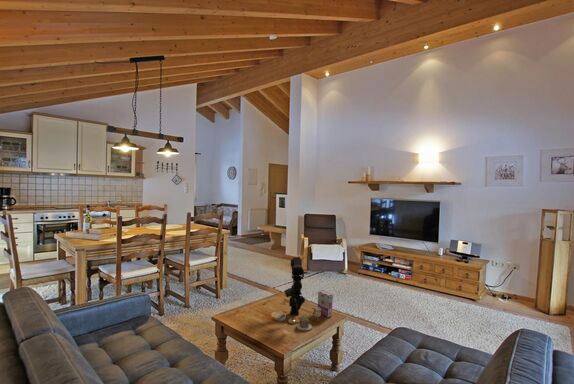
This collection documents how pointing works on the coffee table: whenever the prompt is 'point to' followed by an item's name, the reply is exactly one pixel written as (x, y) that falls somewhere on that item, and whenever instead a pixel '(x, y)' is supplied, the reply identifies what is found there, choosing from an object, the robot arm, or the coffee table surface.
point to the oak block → (317, 311)
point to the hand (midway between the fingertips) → (295, 307)
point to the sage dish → (304, 328)
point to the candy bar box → (325, 303)
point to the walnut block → (304, 322)
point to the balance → (293, 321)
